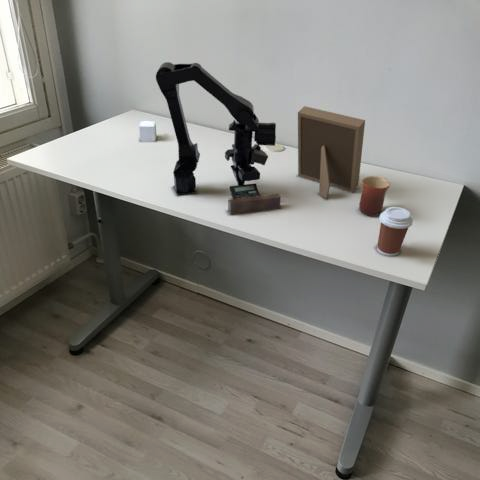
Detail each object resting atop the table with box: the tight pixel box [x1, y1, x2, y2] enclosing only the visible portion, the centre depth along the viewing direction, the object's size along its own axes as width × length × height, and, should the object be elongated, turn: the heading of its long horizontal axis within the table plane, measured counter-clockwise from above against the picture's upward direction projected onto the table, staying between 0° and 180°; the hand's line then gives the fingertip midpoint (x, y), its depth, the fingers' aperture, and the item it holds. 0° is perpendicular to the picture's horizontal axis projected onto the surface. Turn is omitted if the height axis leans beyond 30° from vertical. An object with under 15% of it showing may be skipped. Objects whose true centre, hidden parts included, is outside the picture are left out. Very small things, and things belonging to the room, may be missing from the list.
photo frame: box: [297, 105, 366, 199], centre depth 165 cm, size 15×22×25 cm
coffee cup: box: [376, 206, 414, 257], centre depth 139 cm, size 9×9×12 cm
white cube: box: [138, 120, 158, 142], centre depth 202 cm, size 6×6×6 cm
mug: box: [358, 175, 391, 217], centre depth 158 cm, size 12×9×10 cm
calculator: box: [229, 182, 262, 199], centre depth 163 cm, size 9×12×3 cm
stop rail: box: [227, 193, 282, 216], centre depth 157 cm, size 17×2×4 cm, turn 109°
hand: (240, 188), depth 168 cm, fingers closed
